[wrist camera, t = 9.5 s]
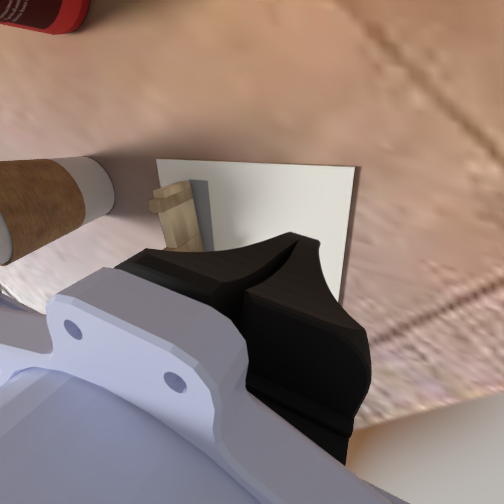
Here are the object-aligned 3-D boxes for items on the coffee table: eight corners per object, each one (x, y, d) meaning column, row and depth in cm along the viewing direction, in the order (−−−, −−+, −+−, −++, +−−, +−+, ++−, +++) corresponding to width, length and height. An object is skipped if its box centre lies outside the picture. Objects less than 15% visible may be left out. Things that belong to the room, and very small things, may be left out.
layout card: (328, 381, 28) (327, 384, 27) (188, 338, 34) (186, 340, 33) (355, 166, 19) (354, 167, 19) (158, 158, 25) (155, 159, 24)
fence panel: (211, 286, 28) (186, 310, 24) (201, 285, 28) (176, 309, 25) (189, 180, 24) (157, 192, 20) (178, 181, 24) (145, 193, 21)
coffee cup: (105, 135, 26) (-152, 162, 14) (136, 224, 29) (-50, 312, 17) (48, 149, 30) (-196, 180, 17) (81, 227, 33) (-105, 300, 20)
